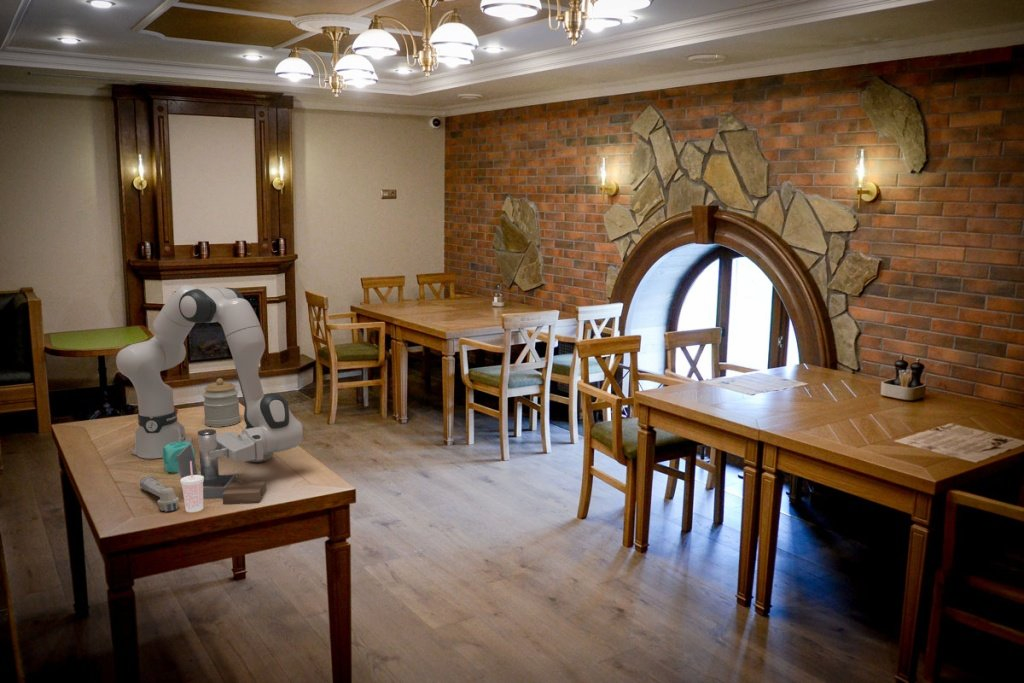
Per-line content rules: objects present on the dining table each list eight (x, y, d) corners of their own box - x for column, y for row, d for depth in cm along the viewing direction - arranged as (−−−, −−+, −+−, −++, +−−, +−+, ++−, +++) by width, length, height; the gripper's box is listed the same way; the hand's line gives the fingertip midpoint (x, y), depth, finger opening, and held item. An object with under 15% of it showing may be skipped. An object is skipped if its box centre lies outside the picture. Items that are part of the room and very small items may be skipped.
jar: (236, 426, 312) (233, 381, 309) (201, 428, 310) (197, 382, 307) (243, 417, 325) (240, 374, 322) (209, 419, 323) (205, 375, 320)
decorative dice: (170, 474, 259) (167, 450, 257) (163, 468, 265) (161, 444, 264) (196, 469, 264) (194, 445, 262) (189, 463, 270) (187, 439, 268)
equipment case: (191, 485, 249) (187, 444, 247) (236, 483, 250) (233, 442, 248) (179, 499, 238) (175, 456, 235) (227, 497, 239) (223, 454, 237)
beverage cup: (199, 503, 234) (195, 456, 232) (210, 508, 231) (206, 460, 228) (178, 509, 230) (174, 461, 227) (189, 515, 226) (185, 466, 223)
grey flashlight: (154, 473, 249) (179, 485, 229) (157, 495, 249) (182, 508, 229) (136, 477, 245) (159, 489, 226) (139, 499, 246) (162, 513, 226)
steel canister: (203, 474, 246) (200, 429, 243) (220, 474, 246) (217, 428, 244) (198, 480, 241) (195, 434, 238) (216, 479, 241) (213, 433, 239)
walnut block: (231, 491, 244) (231, 482, 243) (266, 490, 244) (265, 480, 244) (222, 504, 234) (222, 494, 233) (258, 502, 235) (258, 492, 234)
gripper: (238, 425, 257) (192, 433, 249) (263, 440, 242) (216, 449, 233) (239, 444, 258) (194, 453, 250) (264, 461, 243) (217, 470, 234)
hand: (205, 451), depth 241 cm, fingers closed on steel canister, 5 cm apart
